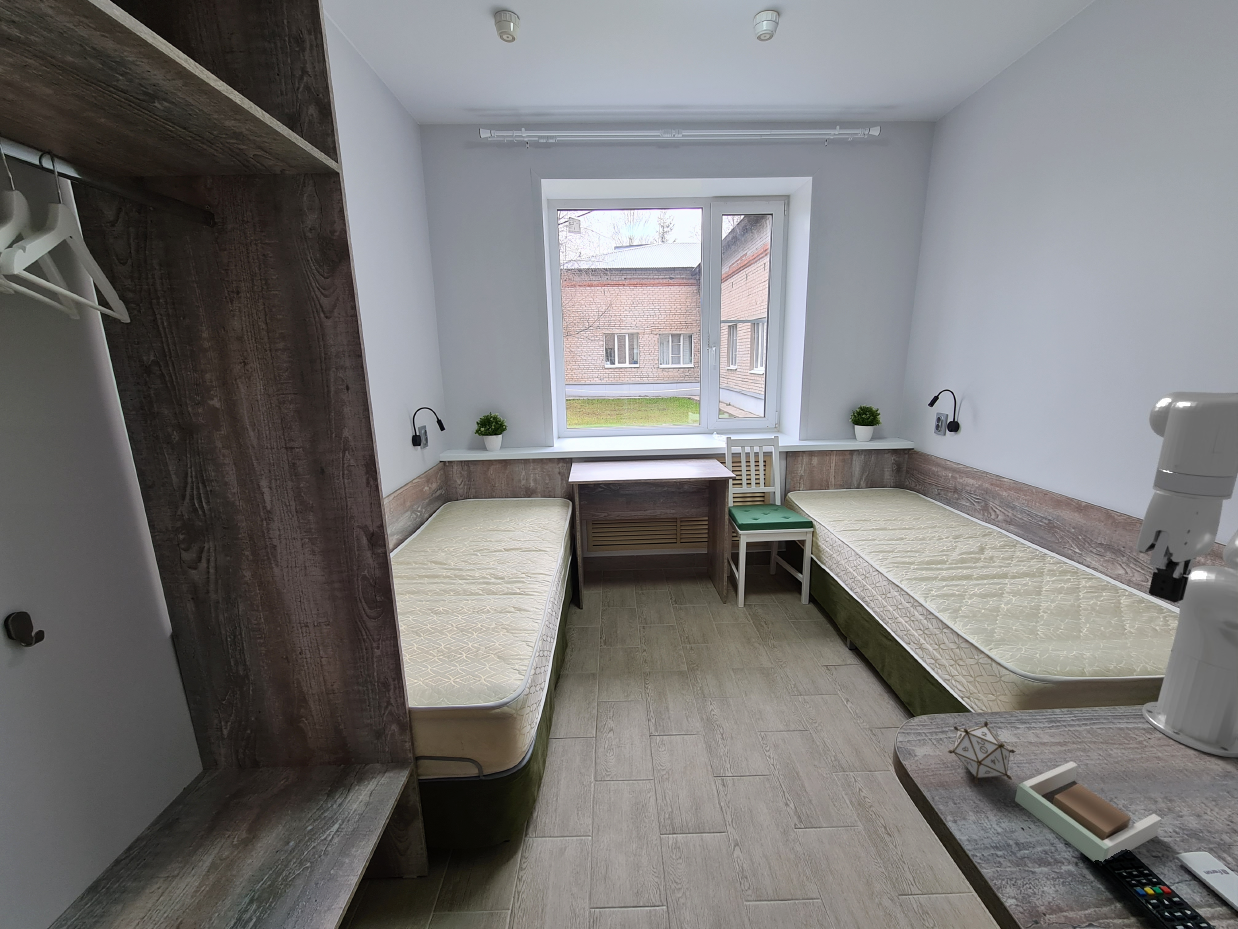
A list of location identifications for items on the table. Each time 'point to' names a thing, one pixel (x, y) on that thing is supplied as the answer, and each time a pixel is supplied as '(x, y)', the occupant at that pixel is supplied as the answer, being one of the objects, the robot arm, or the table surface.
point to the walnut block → (1091, 812)
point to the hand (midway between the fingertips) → (1165, 597)
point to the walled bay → (1069, 828)
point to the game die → (981, 752)
